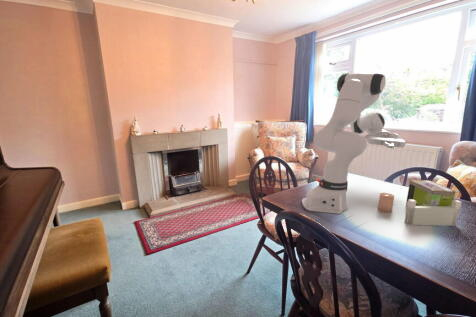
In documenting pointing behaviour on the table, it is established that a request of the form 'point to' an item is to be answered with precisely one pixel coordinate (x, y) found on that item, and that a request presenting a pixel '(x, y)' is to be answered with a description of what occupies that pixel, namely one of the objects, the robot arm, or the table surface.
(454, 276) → the table surface
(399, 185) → the table surface
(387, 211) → the tan small cylinder
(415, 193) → the tea box
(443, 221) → the display rail
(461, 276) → the table surface
